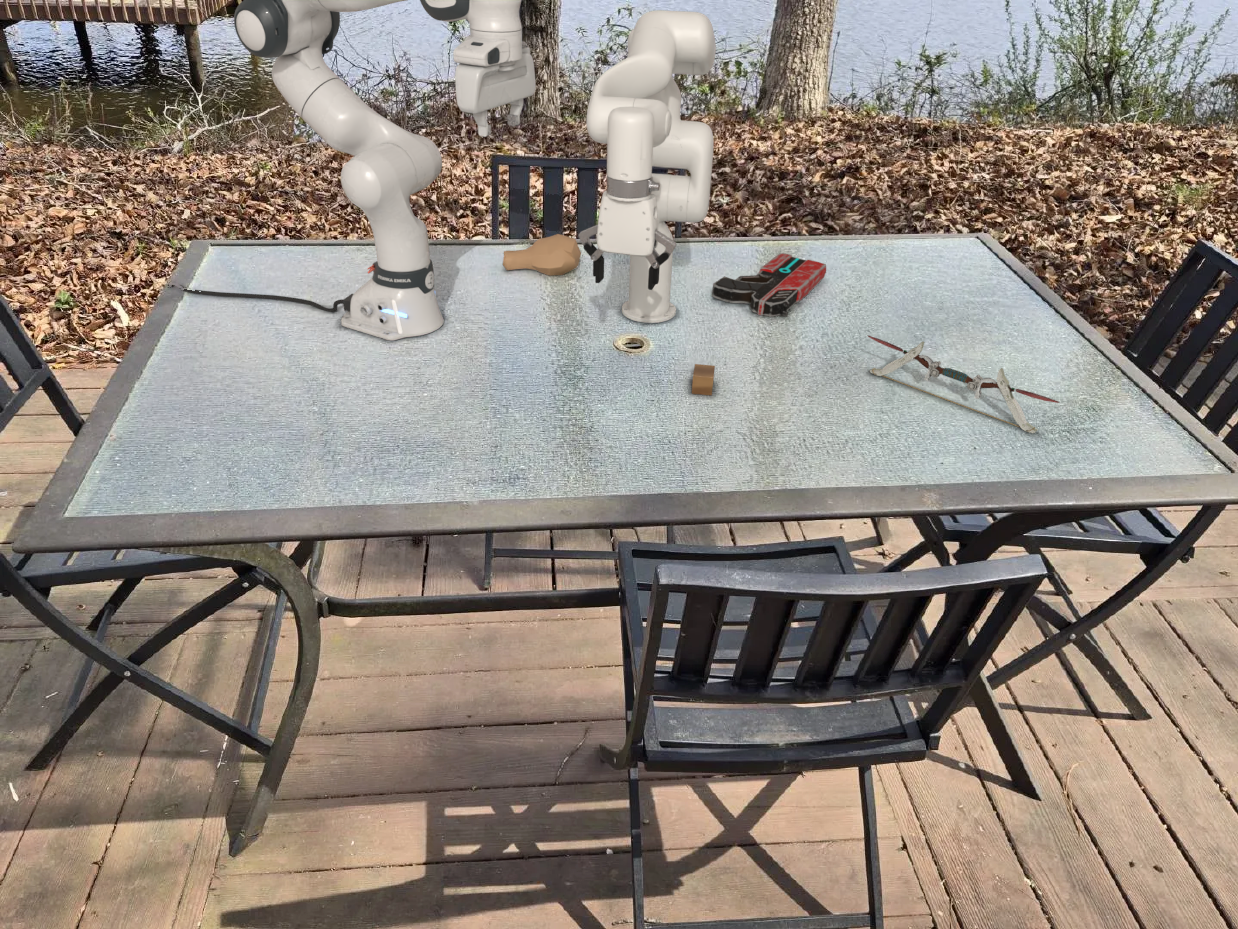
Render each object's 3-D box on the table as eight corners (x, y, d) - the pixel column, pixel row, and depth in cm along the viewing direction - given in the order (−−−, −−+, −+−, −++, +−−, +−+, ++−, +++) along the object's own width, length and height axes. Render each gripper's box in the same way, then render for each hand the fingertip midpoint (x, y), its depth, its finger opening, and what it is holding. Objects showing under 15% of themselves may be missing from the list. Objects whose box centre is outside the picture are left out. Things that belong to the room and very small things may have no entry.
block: (711, 395, 172) (713, 377, 169) (691, 393, 172) (692, 375, 170) (713, 383, 176) (714, 365, 174) (693, 381, 176) (694, 363, 174)
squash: (582, 279, 220) (577, 247, 214) (504, 286, 221) (496, 255, 215) (583, 257, 228) (579, 225, 221) (508, 264, 229) (501, 233, 223)
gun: (708, 284, 207) (784, 305, 199) (760, 245, 229) (831, 262, 221) (706, 302, 209) (781, 323, 201) (758, 261, 231) (828, 278, 223)
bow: (1049, 436, 162) (1066, 388, 156) (1045, 439, 161) (1062, 391, 155) (863, 366, 183) (872, 322, 178) (859, 369, 182) (867, 325, 176)
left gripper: (513, 37, 160) (515, 116, 168) (446, 52, 145) (452, 138, 153) (543, 41, 158) (544, 121, 166) (478, 56, 143) (482, 144, 151)
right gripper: (683, 186, 148) (677, 282, 157) (586, 176, 152) (585, 271, 161) (674, 197, 142) (668, 297, 151) (572, 187, 146) (572, 285, 155)
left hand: (499, 130), depth 159 cm, fingers open, 8 cm apart
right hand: (625, 283), depth 156 cm, fingers open, 9 cm apart
